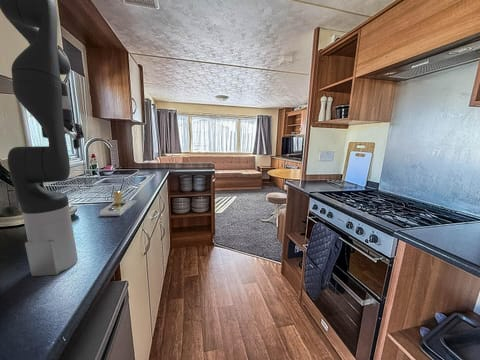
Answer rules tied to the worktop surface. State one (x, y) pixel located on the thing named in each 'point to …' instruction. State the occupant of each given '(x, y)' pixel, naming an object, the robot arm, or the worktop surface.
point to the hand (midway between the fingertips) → (65, 148)
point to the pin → (117, 198)
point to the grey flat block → (117, 208)
